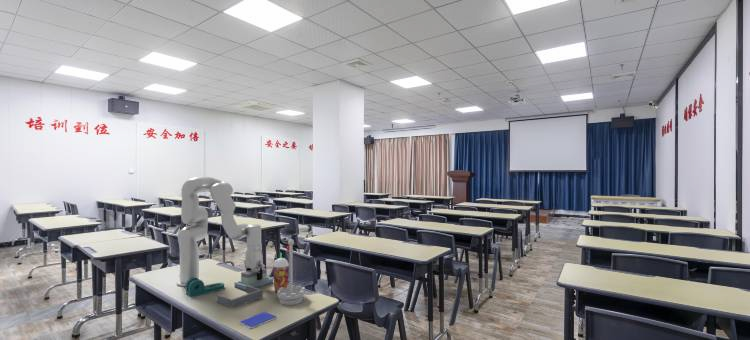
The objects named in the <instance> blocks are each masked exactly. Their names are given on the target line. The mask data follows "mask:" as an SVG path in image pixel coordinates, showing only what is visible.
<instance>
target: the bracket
mask: <svg viewBox="0 0 750 340" xmlns="http://www.w3.org/2000/svg"><path fill="white" fill-rule="evenodd" d="M224 289H225V283H223V282H215V283H211V284H206V285H205V283H204V281H203V280H202V281H201V280H199V279H198V278H196V277H193V278H190V279H189V280H188V281H187V282H186V286H185V295H186V296H187V297H189V298H193V297H196V296H202V295H207V294H209V293H214V292H218V291H222V290H224Z"/></svg>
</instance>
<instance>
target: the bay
mask: <svg viewBox="0 0 750 340" xmlns="http://www.w3.org/2000/svg"><path fill="white" fill-rule="evenodd" d="M245 293H246V294H243V295H240V296H237V297H234V298H230V297H228V296H225V295H221V294H216V302H217V304H218V303H219V304H221V305H222V306H223V305H224V306H226V307H228V308H231V309H233V308H235V307H236V308H237V307H238V306H241V305H244V304H247V303H250V302H253V301H256V300H259V299H261V298H263V295H264V293H263V290H262V289H260V288H255V287H252V286H249V285H247V286H246V291H245Z"/></svg>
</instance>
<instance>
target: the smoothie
mask: <svg viewBox="0 0 750 340" xmlns="http://www.w3.org/2000/svg"><path fill="white" fill-rule="evenodd" d="M279 255H280V257H279V258H277V259H275V261H274V262H273V264H272V272H273V288H274V290H275V292H276V293H277V290H279V288H281V287H284V289H285V288H287V286H289V275H290V262H289V261H288V260H287V259H286V258H285V257H282V255H283V254H282V252H280V254H279Z"/></svg>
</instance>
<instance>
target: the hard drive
mask: <svg viewBox="0 0 750 340" xmlns="http://www.w3.org/2000/svg"><path fill="white" fill-rule="evenodd" d="M275 319H277V316H276V315H274V314H272V313H269V312H266V311H263V312H261V313H257V314H256V315H253V316H251V317H248V318H246V319H245V318H244V319H242V320H240V321H239V323H240V324H239V323H238V324H239V325H241V326H244V327H246V326H247V328H248V327H249V329H250V328H252V329H254V328H256V327H255V326H257V327H259V326H261V325H264V324H266V323H268V322H270V320H271V321H273V320H275ZM263 323H264V324H263ZM258 325H259V326H258ZM253 327H254V328H253Z"/></svg>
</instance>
